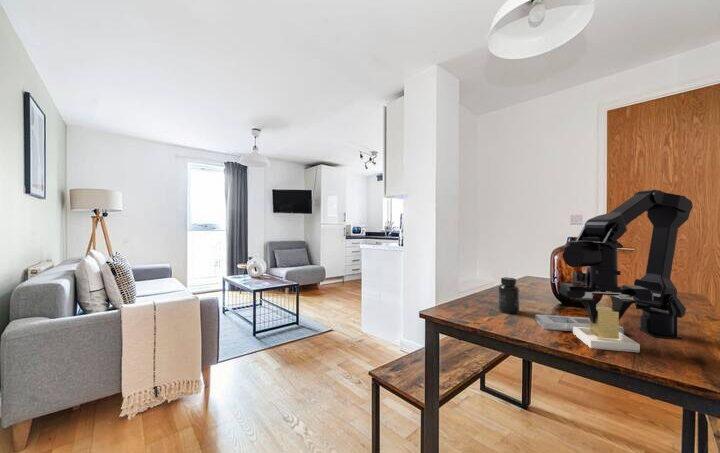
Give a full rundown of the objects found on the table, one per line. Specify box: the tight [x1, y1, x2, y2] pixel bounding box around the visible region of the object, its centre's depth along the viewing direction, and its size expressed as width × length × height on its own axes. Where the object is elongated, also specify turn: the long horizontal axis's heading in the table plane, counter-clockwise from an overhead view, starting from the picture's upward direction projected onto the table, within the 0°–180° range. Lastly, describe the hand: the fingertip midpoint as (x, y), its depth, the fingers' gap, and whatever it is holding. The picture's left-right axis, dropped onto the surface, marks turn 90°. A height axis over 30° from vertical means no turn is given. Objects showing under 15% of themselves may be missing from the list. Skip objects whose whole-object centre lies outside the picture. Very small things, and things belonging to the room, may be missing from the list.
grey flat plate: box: [534, 314, 625, 335], centre depth 88 cm, size 20×8×2 cm, turn 75°
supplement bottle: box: [497, 276, 520, 314], centre depth 105 cm, size 7×7×12 cm
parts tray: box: [572, 327, 641, 354], centre depth 77 cm, size 10×10×2 cm
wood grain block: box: [590, 305, 620, 339], centre depth 77 cm, size 4×4×7 cm
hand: (603, 323), depth 77 cm, fingers closed on wood grain block, 4 cm apart
